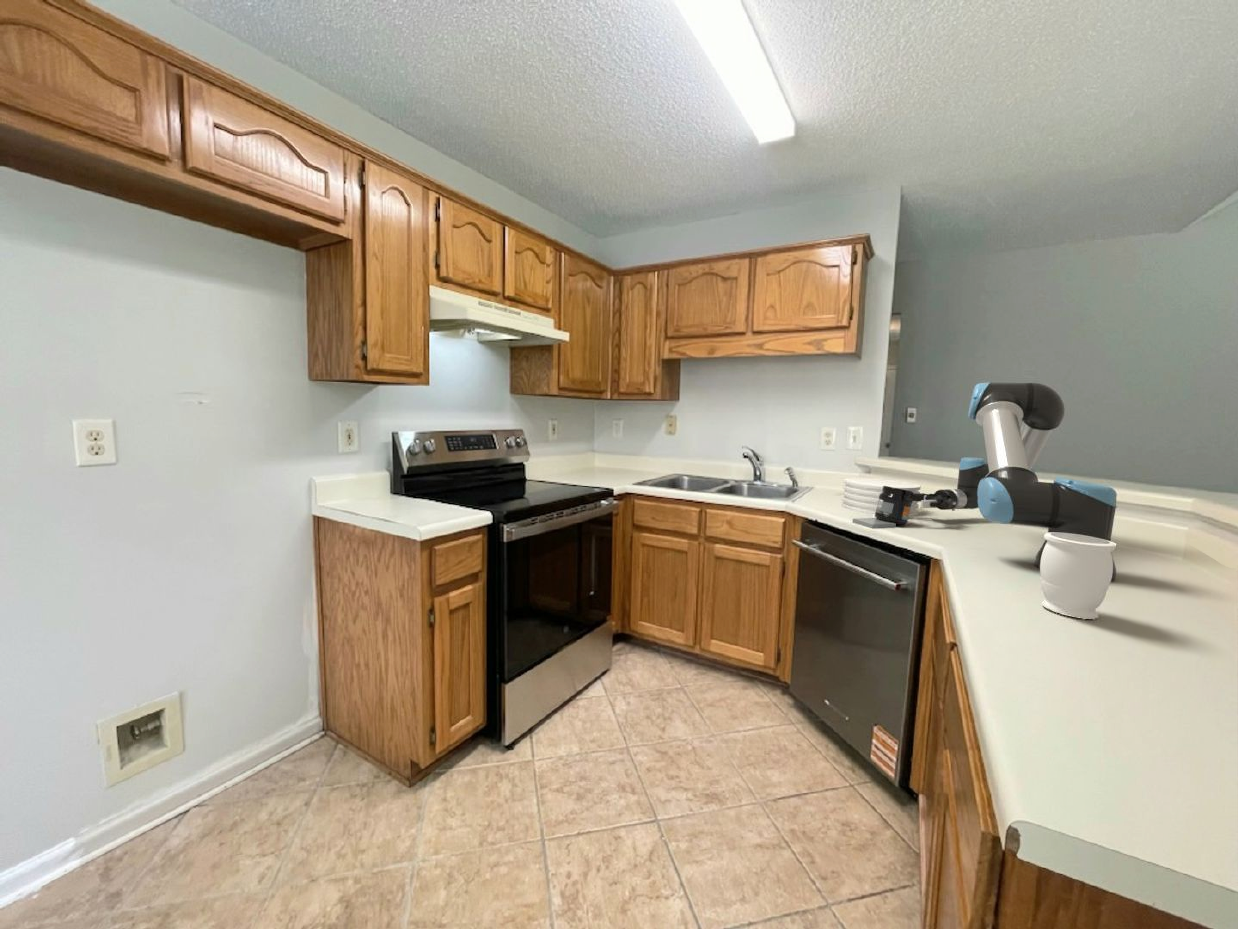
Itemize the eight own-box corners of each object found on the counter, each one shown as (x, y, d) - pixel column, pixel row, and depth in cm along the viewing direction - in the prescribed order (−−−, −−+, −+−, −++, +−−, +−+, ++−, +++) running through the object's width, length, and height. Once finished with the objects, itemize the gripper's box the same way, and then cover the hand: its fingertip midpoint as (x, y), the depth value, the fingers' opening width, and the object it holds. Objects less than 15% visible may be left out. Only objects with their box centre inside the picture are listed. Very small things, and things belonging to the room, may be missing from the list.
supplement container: (912, 526, 173) (920, 493, 172) (898, 524, 167) (906, 490, 166) (882, 518, 182) (890, 487, 181) (868, 516, 175) (876, 484, 175)
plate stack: (933, 518, 189) (936, 489, 188) (859, 515, 190) (862, 486, 188) (895, 504, 217) (897, 479, 215) (831, 502, 218) (833, 476, 216)
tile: (875, 517, 178) (852, 518, 174) (895, 523, 169) (872, 524, 166) (874, 523, 178) (852, 524, 175) (895, 529, 169) (872, 530, 166)
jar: (1113, 628, 90) (1125, 548, 88) (1040, 614, 95) (1050, 539, 94) (1096, 609, 99) (1106, 537, 97) (1030, 597, 104) (1039, 529, 103)
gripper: (981, 516, 170) (935, 518, 164) (918, 503, 194) (875, 504, 188) (983, 495, 170) (938, 496, 163) (920, 484, 193) (877, 485, 187)
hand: (904, 500), depth 175 cm, fingers open, 13 cm apart
